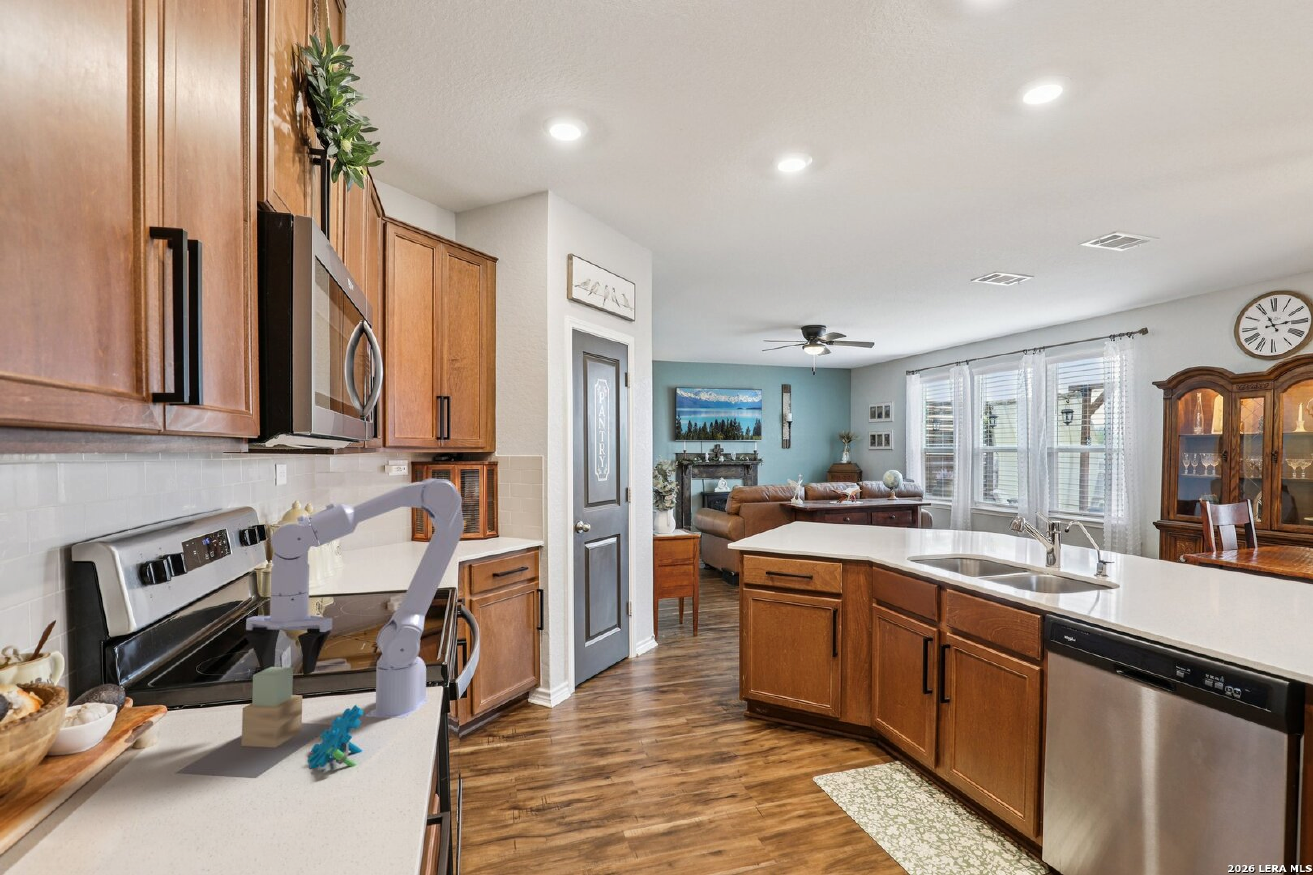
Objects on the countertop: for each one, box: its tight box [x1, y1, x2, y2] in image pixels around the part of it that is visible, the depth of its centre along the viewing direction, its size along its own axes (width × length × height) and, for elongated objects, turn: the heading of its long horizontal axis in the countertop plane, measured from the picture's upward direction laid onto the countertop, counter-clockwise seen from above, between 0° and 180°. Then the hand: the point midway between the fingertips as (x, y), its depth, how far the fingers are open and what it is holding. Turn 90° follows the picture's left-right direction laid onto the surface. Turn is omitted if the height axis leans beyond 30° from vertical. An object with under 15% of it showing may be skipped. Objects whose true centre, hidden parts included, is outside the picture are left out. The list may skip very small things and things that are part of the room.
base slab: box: [241, 713, 303, 748], centre depth 101 cm, size 6×6×3 cm
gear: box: [307, 704, 364, 769], centre depth 95 cm, size 11×6×10 cm
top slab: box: [241, 694, 303, 728], centre depth 101 cm, size 6×6×3 cm
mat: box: [174, 722, 332, 779], centre depth 97 cm, size 18×13×1 cm
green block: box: [251, 666, 294, 707], centre depth 101 cm, size 4×4×5 cm
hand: (288, 672), depth 104 cm, fingers open, 7 cm apart
